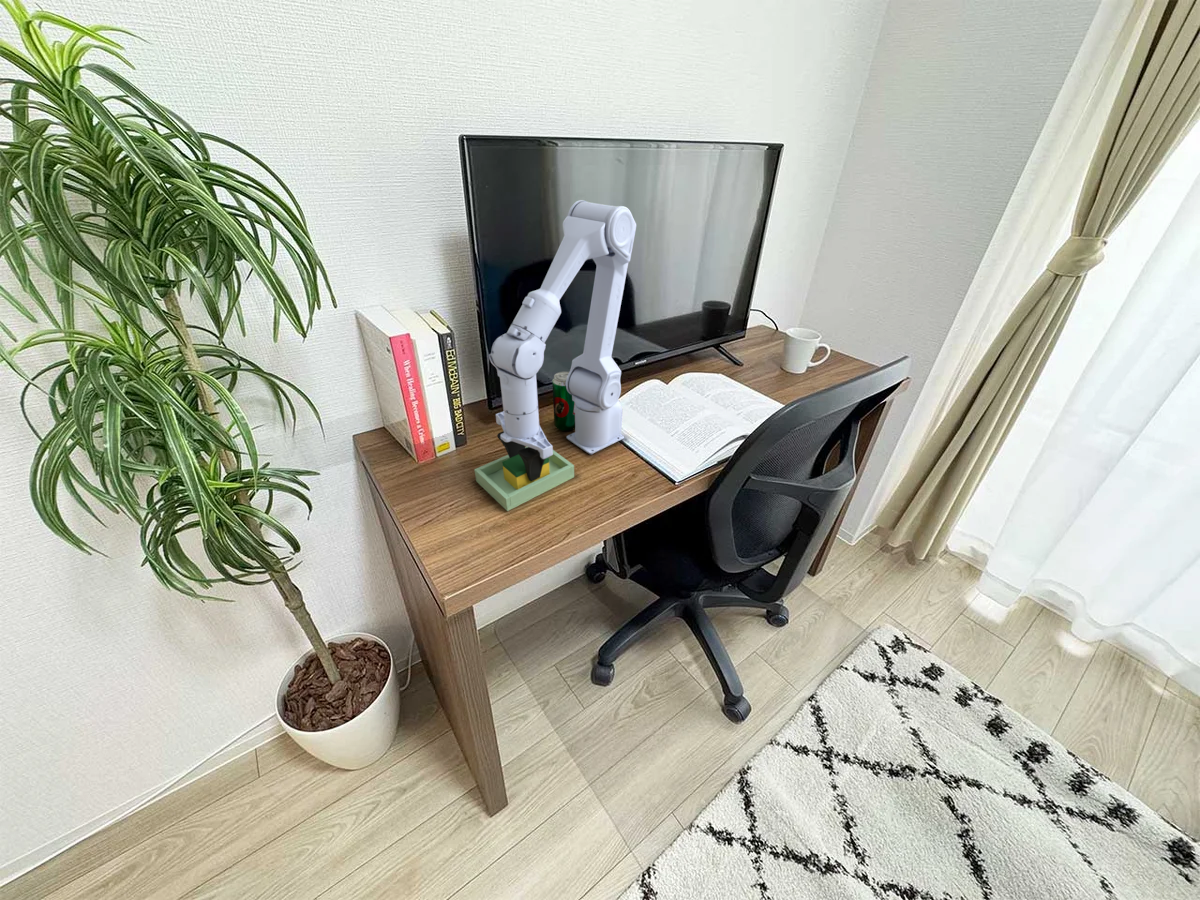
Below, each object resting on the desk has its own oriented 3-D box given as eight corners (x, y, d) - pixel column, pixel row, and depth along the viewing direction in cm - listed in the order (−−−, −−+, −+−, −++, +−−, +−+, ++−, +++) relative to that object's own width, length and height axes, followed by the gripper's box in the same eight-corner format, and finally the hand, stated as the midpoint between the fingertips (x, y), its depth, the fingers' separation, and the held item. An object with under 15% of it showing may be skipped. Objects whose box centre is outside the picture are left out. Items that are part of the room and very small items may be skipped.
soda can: (579, 431, 101) (579, 380, 94) (556, 433, 100) (553, 382, 93) (575, 418, 105) (574, 369, 98) (552, 421, 104) (550, 371, 97)
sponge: (535, 464, 90) (534, 447, 88) (549, 475, 87) (549, 458, 85) (504, 479, 86) (502, 461, 84) (517, 491, 83) (516, 473, 81)
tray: (541, 451, 95) (540, 440, 93) (574, 477, 88) (574, 465, 87) (476, 481, 87) (474, 469, 85) (507, 511, 80) (505, 498, 79)
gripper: (477, 397, 80) (486, 461, 88) (525, 433, 71) (530, 501, 79) (512, 385, 84) (518, 448, 92) (562, 418, 75) (564, 484, 83)
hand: (526, 471), depth 86 cm, fingers closed on sponge, 4 cm apart
